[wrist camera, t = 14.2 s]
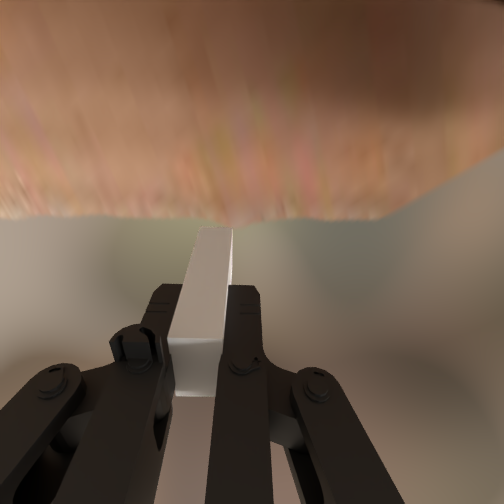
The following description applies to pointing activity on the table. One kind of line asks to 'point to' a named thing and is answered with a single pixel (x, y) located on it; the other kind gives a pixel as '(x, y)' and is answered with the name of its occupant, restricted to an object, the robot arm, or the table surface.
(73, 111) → the table surface
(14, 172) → the table surface
